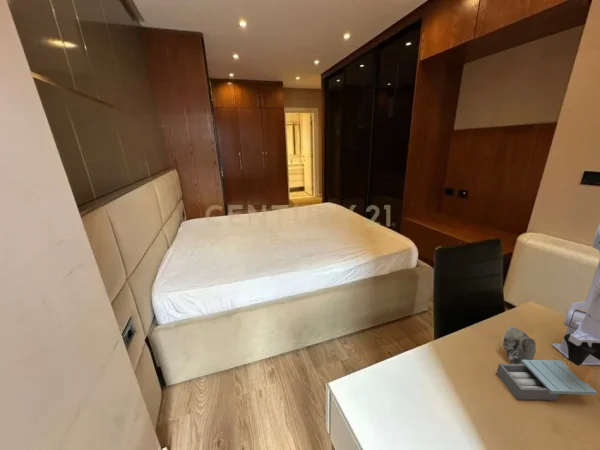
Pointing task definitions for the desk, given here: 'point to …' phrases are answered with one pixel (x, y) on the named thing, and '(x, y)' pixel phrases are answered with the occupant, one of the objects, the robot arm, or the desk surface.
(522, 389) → the tub
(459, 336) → the desk surface
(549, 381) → the lid
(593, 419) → the desk surface
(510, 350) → the stone
